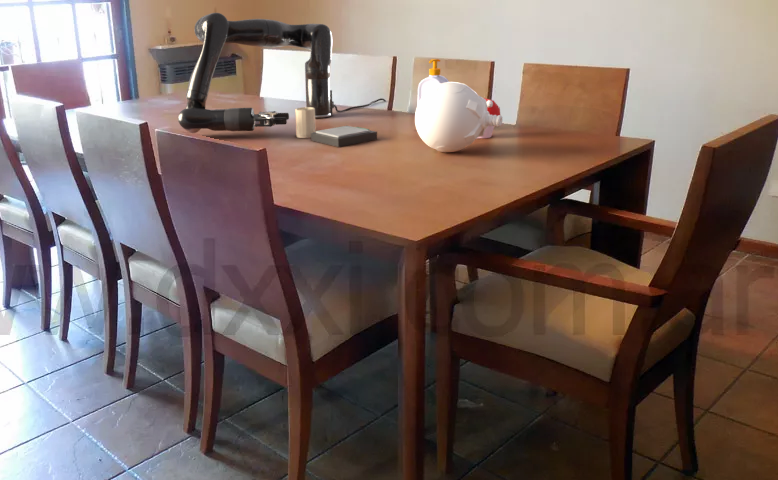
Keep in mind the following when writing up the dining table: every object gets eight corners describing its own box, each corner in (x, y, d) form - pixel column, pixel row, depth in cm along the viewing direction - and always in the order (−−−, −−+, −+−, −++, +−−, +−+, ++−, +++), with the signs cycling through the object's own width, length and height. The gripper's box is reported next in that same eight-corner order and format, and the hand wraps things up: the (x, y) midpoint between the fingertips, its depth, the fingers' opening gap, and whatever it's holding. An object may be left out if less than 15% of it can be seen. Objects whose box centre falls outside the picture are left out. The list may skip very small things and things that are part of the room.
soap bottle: (415, 131, 230) (417, 59, 220) (424, 127, 235) (427, 57, 225) (439, 133, 225) (442, 60, 215) (448, 129, 230) (452, 58, 221)
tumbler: (307, 133, 232) (307, 106, 228) (319, 136, 227) (318, 108, 223) (292, 136, 228) (291, 108, 224) (303, 138, 223) (302, 111, 220)
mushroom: (461, 133, 224) (463, 95, 219) (494, 132, 224) (497, 94, 219) (468, 140, 214) (470, 100, 209) (503, 138, 214) (506, 99, 209)
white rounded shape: (429, 142, 213) (432, 76, 205) (508, 149, 200) (515, 80, 192) (402, 155, 198) (404, 84, 190) (486, 163, 185) (492, 89, 177)
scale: (349, 133, 229) (349, 124, 228) (377, 139, 219) (377, 129, 218) (311, 140, 221) (311, 130, 219) (338, 147, 210) (338, 137, 209)
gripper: (235, 111, 218) (285, 110, 217) (241, 104, 231) (289, 103, 230) (236, 135, 222) (286, 134, 220) (243, 126, 235) (290, 125, 233)
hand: (287, 118), depth 225 cm, fingers open, 8 cm apart
